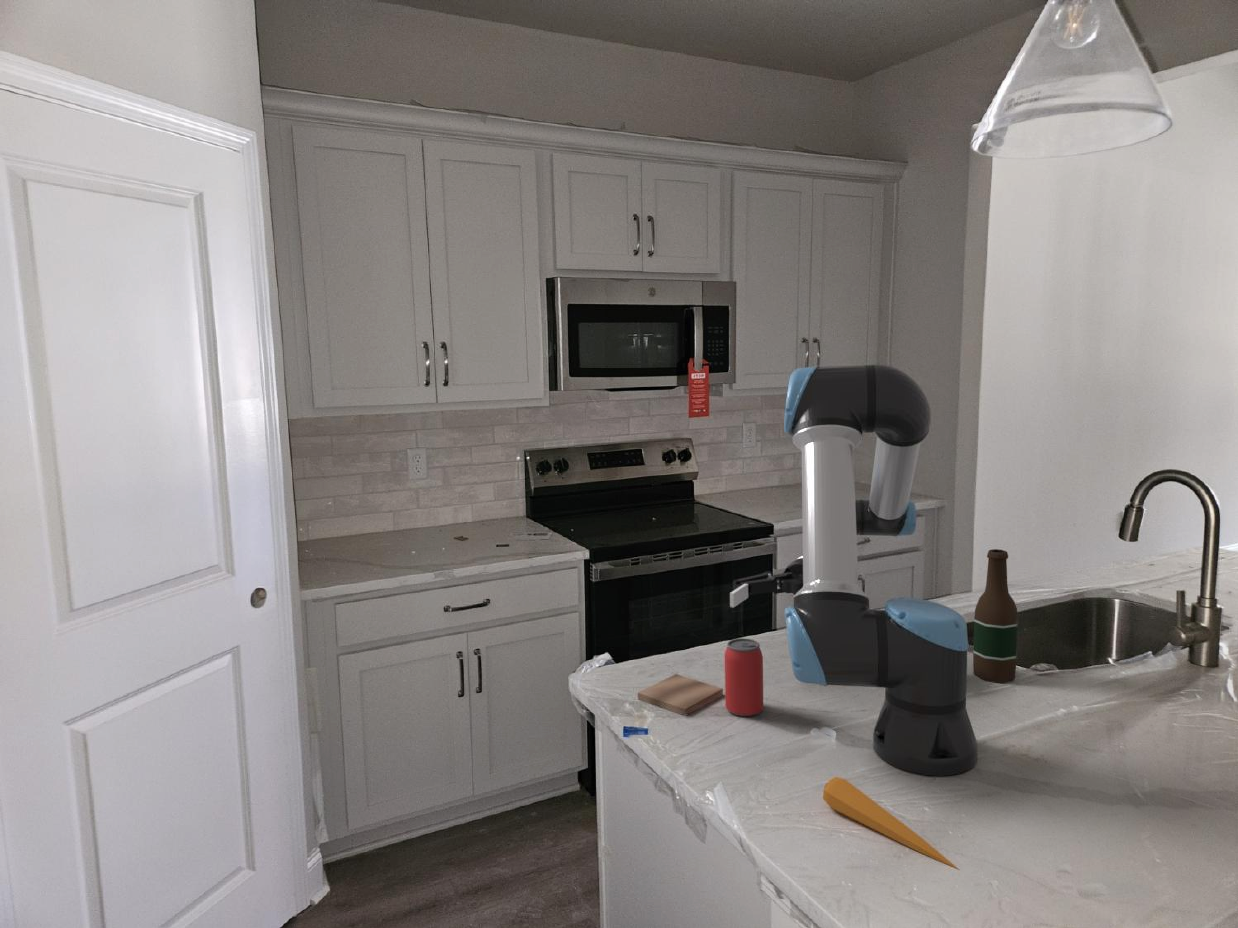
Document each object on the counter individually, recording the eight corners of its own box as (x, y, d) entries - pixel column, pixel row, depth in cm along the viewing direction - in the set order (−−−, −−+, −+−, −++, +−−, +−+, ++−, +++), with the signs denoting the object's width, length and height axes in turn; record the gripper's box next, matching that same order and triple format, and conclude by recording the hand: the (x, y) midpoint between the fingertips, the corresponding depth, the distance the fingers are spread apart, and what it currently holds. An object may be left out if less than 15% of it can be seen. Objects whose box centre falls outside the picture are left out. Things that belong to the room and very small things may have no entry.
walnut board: (722, 694, 150) (722, 688, 150) (685, 715, 142) (684, 709, 142) (676, 679, 158) (676, 673, 157) (638, 698, 150) (637, 692, 150)
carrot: (820, 809, 114) (814, 786, 112) (841, 787, 116) (835, 765, 114) (952, 895, 98) (947, 871, 97) (972, 869, 101) (969, 844, 99)
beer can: (762, 718, 140) (762, 651, 138) (724, 716, 141) (722, 650, 140) (764, 702, 146) (763, 637, 145) (726, 700, 148) (725, 636, 146)
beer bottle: (984, 664, 159) (987, 543, 156) (1024, 675, 153) (1028, 550, 150) (964, 675, 155) (966, 551, 151) (1005, 687, 149) (1008, 558, 145)
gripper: (868, 601, 161) (832, 636, 144) (751, 584, 175) (705, 614, 158) (868, 564, 160) (832, 595, 143) (750, 550, 174) (704, 577, 157)
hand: (765, 605), depth 150 cm, fingers open, 13 cm apart
